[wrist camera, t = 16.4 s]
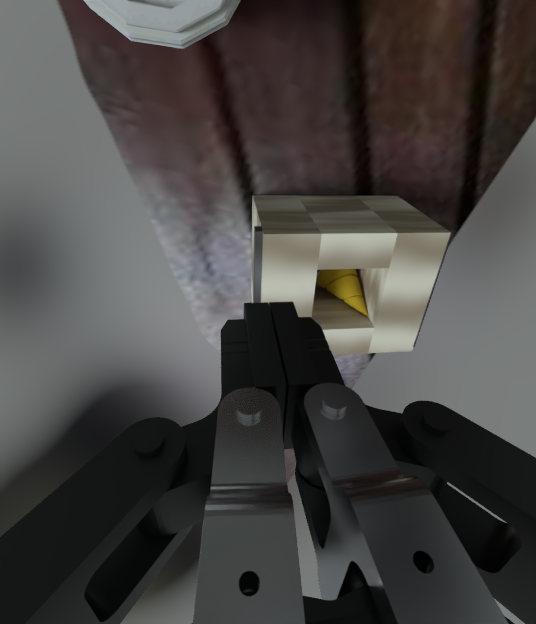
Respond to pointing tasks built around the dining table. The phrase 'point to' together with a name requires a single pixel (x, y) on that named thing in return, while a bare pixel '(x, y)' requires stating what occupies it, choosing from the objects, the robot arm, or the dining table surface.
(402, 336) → the socket block
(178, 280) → the dining table surface
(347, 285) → the drill bit
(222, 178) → the dining table surface
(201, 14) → the disposable coffee cup
